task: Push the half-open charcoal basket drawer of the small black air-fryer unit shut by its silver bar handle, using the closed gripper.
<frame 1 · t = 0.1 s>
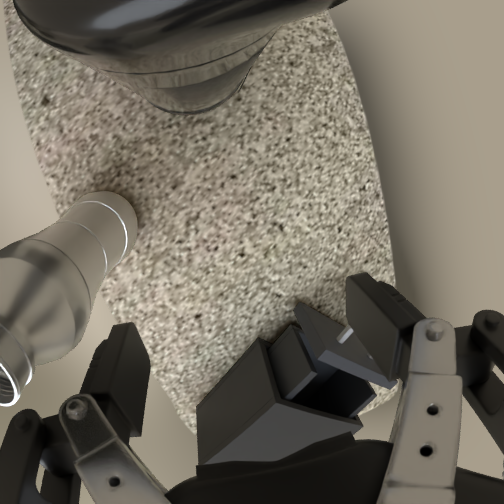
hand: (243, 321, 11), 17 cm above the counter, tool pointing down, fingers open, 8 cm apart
air fryer: (266, 392, 36), on the counter
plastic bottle: (108, 220, 26), on the counter
fryer drawer: (325, 371, 30), point 5 cm above the counter, slide at 5.0 cm
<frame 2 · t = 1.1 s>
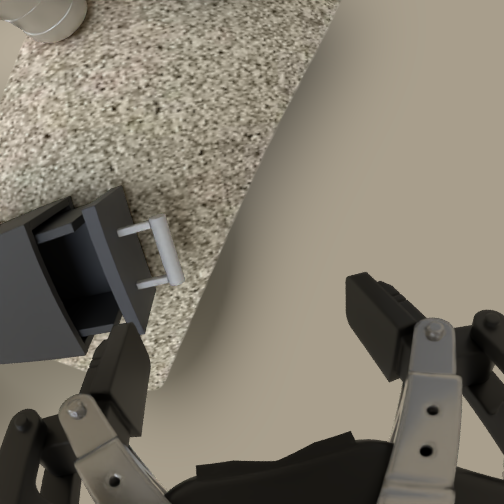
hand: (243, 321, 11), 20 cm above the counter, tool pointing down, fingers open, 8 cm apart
air fryer: (43, 264, 29), on the counter
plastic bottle: (65, 20, 19), on the counter
fryer drawer: (91, 265, 25), point 5 cm above the counter, slide at 5.0 cm
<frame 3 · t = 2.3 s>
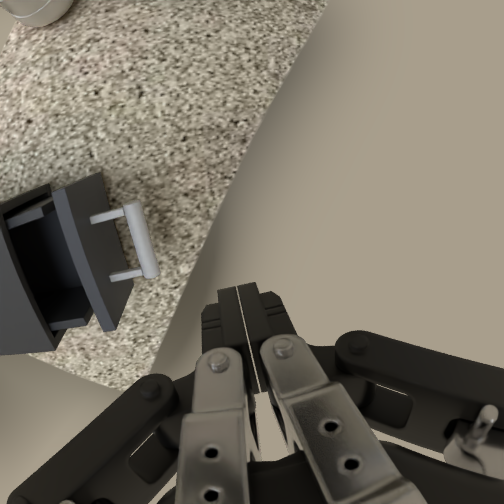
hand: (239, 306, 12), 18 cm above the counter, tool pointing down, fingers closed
air fryer: (21, 255, 26), on the counter
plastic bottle: (54, 5, 17), on the counter
fryer drawer: (64, 255, 23), point 5 cm above the counter, slide at 5.0 cm
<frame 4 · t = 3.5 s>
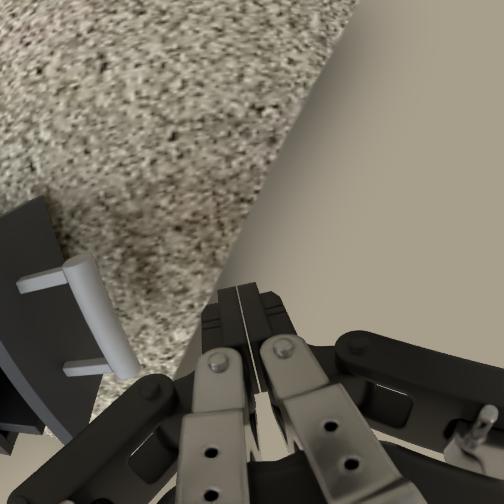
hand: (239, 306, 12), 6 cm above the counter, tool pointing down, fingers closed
fryer drawer: (1, 327, 12), point 5 cm above the counter, slide at 5.0 cm
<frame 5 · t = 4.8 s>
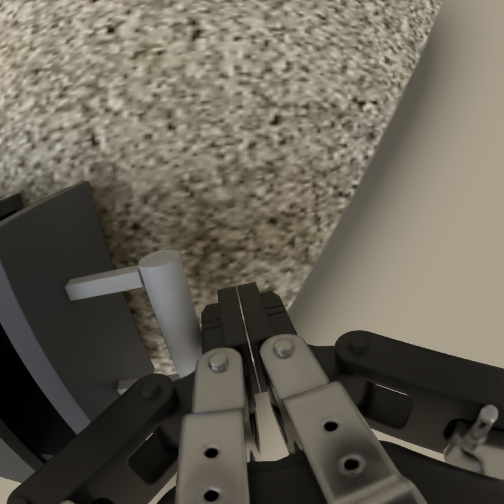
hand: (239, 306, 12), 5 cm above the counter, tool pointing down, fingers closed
fryer drawer: (31, 340, 11), point 5 cm above the counter, slide at 3.8 cm, touching gripper
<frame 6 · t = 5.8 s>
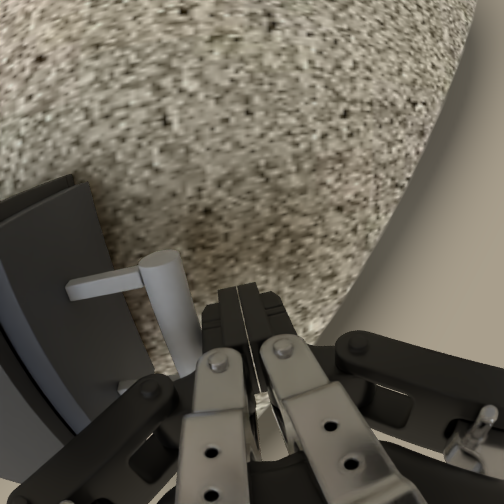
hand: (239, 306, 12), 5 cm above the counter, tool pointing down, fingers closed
air fryer: (19, 301, 15), on the counter
fryer drawer: (31, 341, 11), point 5 cm above the counter, slide at 0.0 cm, touching air fryer, gripper
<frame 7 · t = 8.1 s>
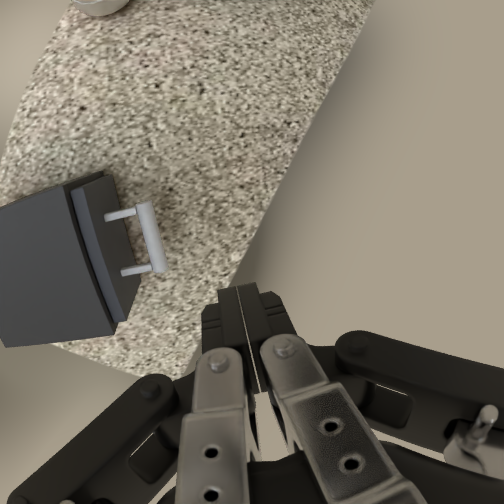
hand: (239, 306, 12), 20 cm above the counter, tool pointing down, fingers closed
air fryer: (64, 243, 29), on the counter
fryer drawer: (77, 251, 25), point 5 cm above the counter, slide at 0.0 cm
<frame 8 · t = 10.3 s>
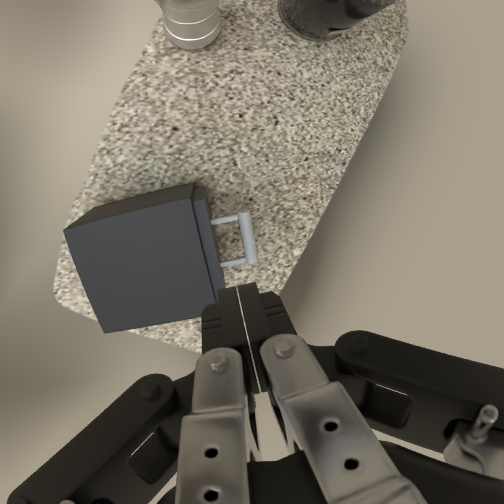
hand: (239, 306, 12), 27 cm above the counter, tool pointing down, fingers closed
air fryer: (153, 241, 38), on the counter
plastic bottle: (193, 31, 29), on the counter
fryer drawer: (179, 248, 34), point 5 cm above the counter, slide at 0.0 cm
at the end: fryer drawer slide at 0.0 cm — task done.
